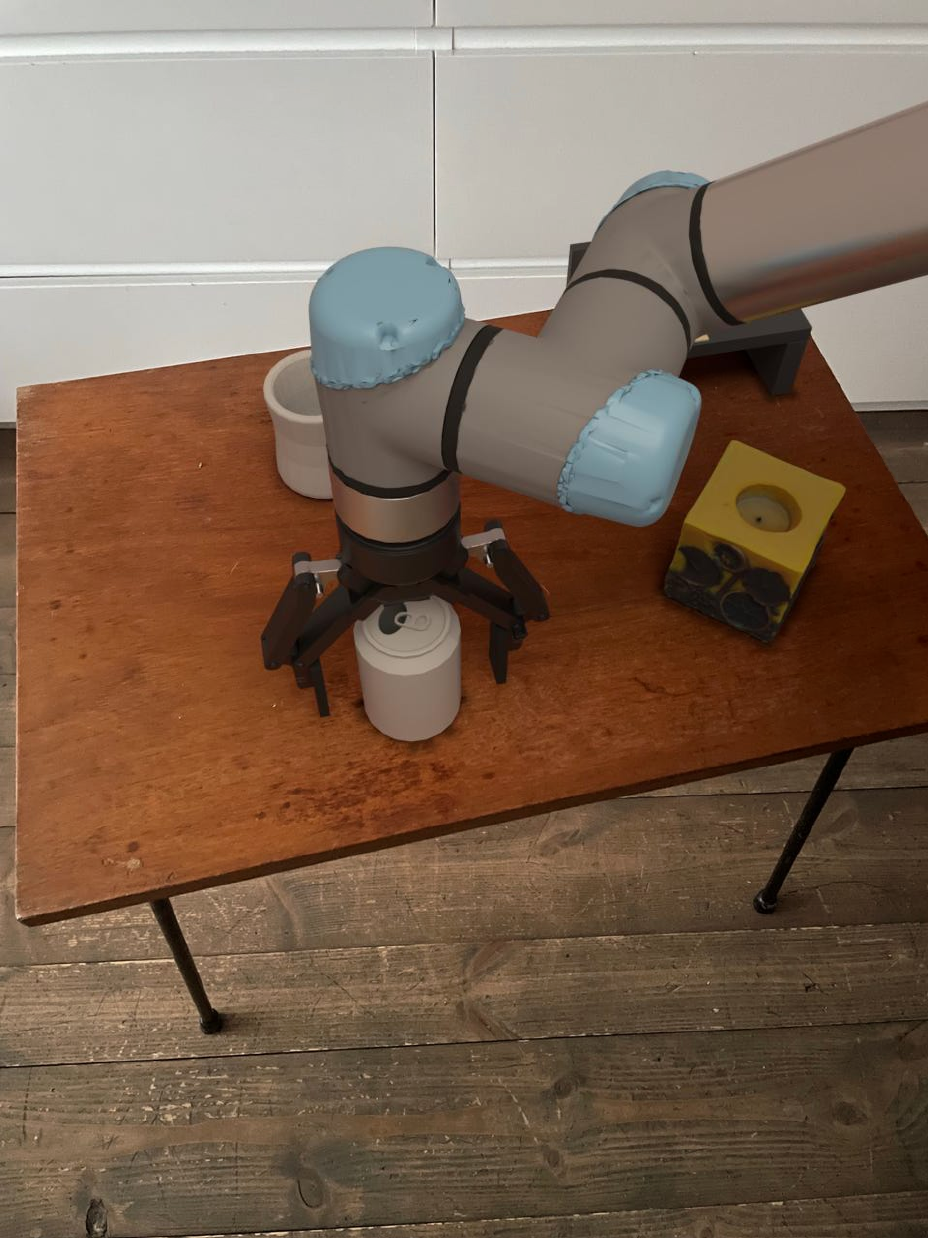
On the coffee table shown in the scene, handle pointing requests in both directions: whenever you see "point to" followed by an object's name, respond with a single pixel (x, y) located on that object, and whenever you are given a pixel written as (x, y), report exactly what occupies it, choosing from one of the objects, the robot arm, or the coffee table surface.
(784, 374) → the shelf
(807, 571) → the candle
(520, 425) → the robot arm
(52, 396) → the coffee table surface
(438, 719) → the can
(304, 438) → the mug
